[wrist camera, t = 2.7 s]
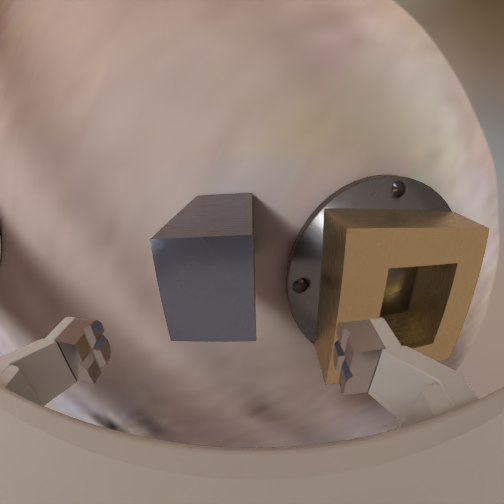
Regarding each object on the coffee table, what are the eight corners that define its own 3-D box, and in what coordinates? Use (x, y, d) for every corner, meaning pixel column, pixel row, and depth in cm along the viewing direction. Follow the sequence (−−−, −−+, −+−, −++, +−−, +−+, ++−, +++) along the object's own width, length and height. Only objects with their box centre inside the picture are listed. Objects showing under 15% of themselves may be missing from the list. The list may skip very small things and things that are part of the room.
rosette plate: (284, 357, 25) (290, 406, 19) (286, 171, 19) (301, 181, 13) (430, 336, 25) (456, 371, 19) (464, 182, 19) (510, 197, 13)
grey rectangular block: (203, 259, 21) (171, 340, 12) (197, 195, 20) (149, 239, 10) (254, 257, 21) (256, 340, 12) (252, 193, 20) (252, 234, 10)
